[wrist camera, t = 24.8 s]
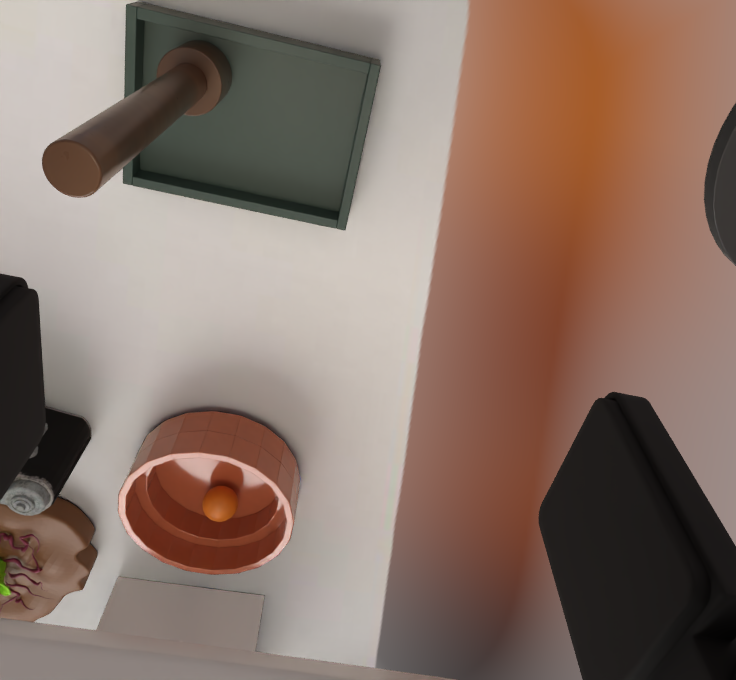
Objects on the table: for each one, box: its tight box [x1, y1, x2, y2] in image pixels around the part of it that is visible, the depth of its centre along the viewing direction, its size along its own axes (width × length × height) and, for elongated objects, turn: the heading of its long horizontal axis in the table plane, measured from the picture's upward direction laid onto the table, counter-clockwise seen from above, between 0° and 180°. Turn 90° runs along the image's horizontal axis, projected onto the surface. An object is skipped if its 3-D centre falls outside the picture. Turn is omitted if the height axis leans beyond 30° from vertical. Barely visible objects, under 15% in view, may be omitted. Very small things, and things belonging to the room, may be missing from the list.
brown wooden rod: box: [42, 40, 232, 198], centre depth 30 cm, size 4×4×19 cm
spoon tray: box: [123, 2, 381, 230], centre depth 39 cm, size 14×10×2 cm
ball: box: [202, 486, 238, 522], centre depth 54 cm, size 3×3×3 cm
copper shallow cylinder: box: [118, 411, 300, 575], centre depth 53 cm, size 14×14×6 cm
